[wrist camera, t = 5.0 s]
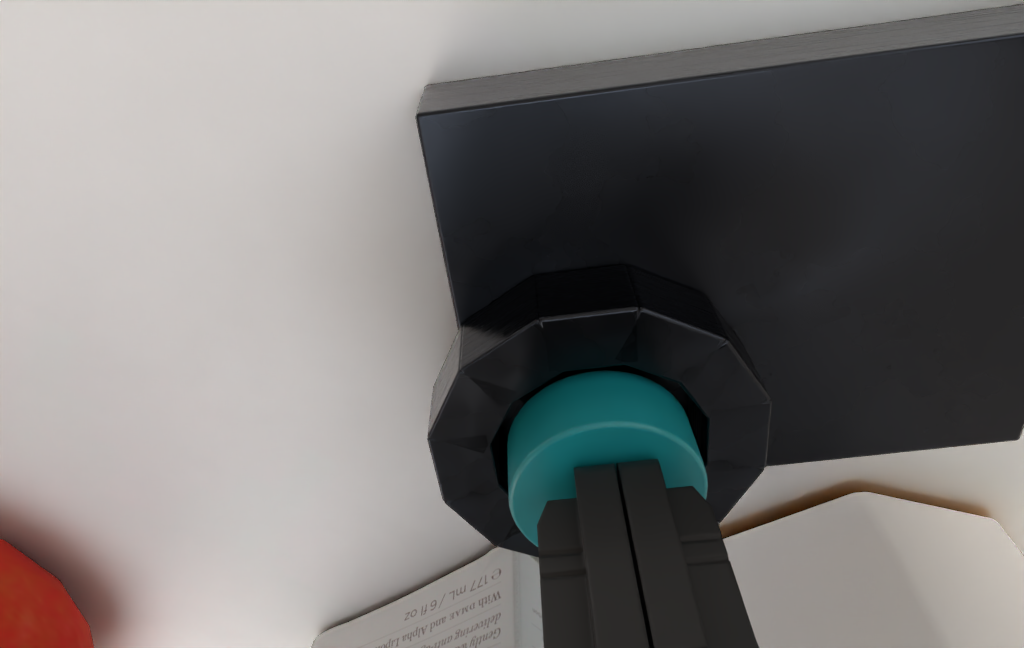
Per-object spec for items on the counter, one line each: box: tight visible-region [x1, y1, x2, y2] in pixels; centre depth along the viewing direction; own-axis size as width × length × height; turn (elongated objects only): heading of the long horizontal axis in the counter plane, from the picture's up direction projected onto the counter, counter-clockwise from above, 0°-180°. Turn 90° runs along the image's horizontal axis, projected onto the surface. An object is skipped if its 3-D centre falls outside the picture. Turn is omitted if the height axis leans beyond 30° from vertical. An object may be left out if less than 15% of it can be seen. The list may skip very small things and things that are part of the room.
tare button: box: [507, 370, 708, 547], centre depth 13 cm, size 4×4×2 cm
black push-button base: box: [416, 4, 1024, 558], centre depth 14 cm, size 13×10×4 cm
